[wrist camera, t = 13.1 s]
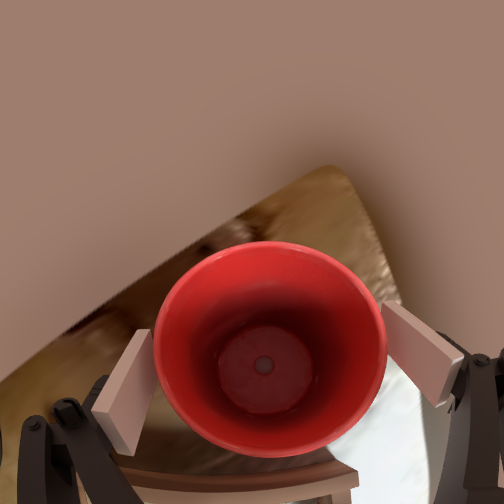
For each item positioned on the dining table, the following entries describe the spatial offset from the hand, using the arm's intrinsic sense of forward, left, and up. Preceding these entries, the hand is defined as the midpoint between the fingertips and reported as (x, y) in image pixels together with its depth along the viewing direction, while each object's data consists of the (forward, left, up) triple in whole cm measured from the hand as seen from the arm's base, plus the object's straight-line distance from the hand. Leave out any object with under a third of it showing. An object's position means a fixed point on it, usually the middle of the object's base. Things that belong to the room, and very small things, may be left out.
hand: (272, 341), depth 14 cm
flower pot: (0, -1, -7) cm, 7 cm away
